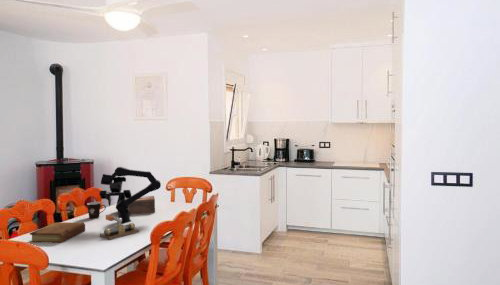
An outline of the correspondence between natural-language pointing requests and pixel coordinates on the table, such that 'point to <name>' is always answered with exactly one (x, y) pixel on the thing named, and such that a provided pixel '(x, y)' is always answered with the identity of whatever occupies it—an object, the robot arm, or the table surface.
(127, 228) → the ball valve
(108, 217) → the valve lever
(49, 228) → the diary
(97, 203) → the coffee mug
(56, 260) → the table surface
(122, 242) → the table surface
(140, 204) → the tissue box cover
